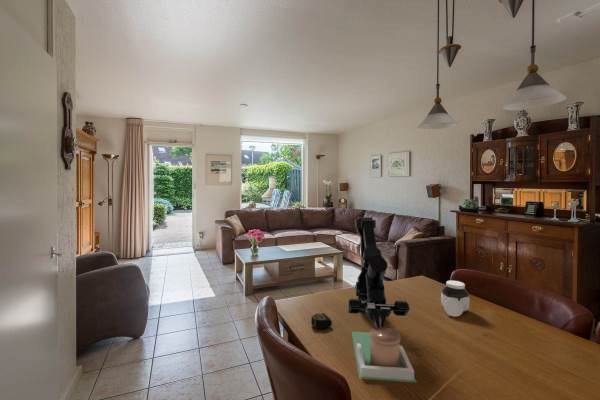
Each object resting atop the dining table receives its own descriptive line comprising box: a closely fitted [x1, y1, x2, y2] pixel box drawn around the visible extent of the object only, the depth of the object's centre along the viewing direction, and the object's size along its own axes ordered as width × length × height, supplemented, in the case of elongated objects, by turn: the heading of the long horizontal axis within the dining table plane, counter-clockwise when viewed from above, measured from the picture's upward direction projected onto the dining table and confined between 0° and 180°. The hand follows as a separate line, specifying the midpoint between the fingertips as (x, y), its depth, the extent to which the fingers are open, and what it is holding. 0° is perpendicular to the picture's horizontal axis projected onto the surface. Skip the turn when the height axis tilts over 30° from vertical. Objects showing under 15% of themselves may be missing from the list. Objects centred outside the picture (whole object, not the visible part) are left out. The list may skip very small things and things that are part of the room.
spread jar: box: [440, 280, 470, 317], centre depth 119 cm, size 12×11×12 cm
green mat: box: [351, 331, 418, 383], centre depth 89 cm, size 25×15×1 cm, turn 174°
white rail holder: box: [357, 343, 415, 380], centre depth 83 cm, size 12×14×2 cm
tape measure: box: [310, 312, 333, 330], centre depth 107 cm, size 7×7×4 cm
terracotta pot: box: [369, 326, 401, 368], centre depth 83 cm, size 8×8×9 cm
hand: (380, 335), depth 87 cm, fingers closed
